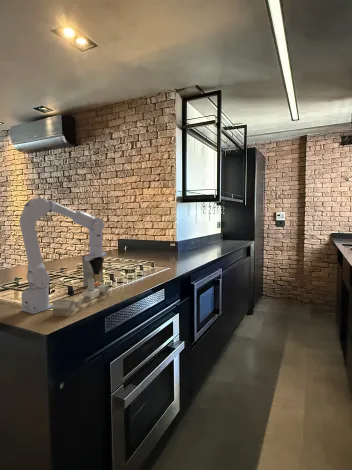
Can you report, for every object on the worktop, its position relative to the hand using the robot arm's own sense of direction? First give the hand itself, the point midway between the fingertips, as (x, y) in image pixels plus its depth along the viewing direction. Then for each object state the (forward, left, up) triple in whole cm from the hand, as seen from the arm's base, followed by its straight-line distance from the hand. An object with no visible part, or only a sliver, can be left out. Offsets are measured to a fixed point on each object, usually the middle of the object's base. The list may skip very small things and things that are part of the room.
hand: (96, 274), depth 134 cm
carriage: (-6, -3, -9) cm, 11 cm away
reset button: (0, 0, -7) cm, 7 cm away
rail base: (-12, -4, -10) cm, 16 cm away
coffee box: (+14, +16, -11) cm, 24 cm away
